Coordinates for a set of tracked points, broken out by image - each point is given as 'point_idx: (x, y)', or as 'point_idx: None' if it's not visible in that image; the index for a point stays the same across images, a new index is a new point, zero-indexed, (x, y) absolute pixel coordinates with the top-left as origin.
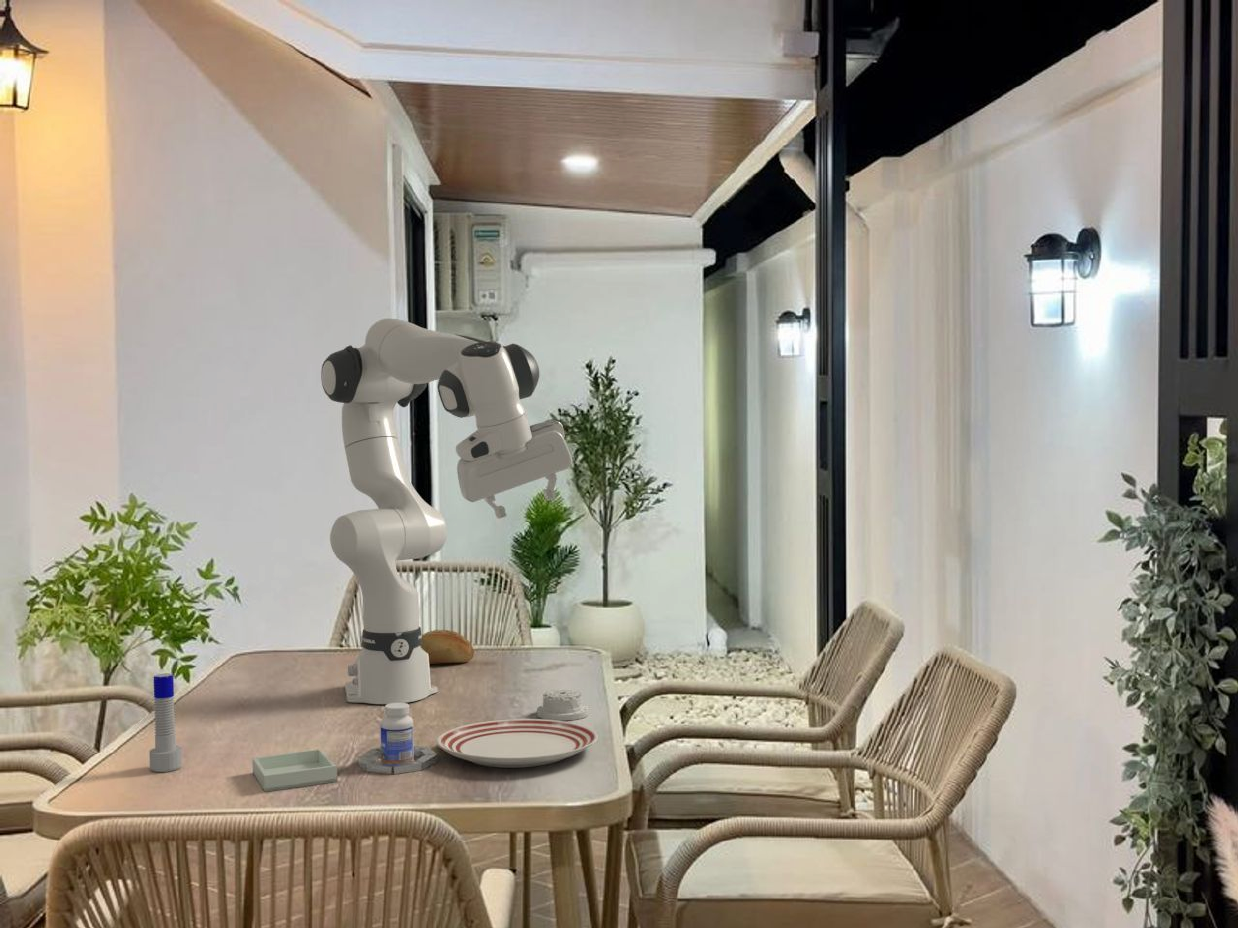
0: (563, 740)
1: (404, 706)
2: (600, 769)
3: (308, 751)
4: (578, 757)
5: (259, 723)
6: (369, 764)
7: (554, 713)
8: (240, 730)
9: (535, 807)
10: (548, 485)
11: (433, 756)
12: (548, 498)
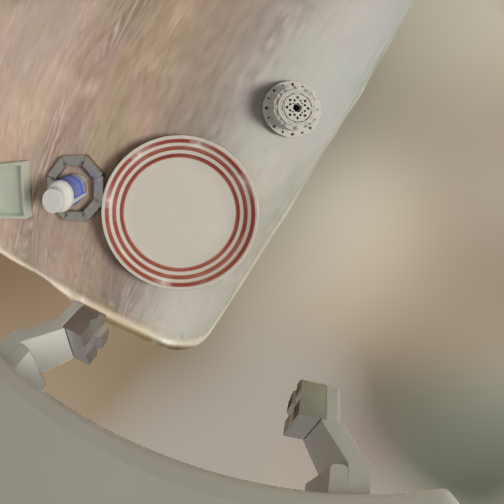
0: (229, 213)
1: (56, 209)
2: (219, 292)
3: (15, 165)
4: None
5: (34, 14)
6: None
7: (273, 121)
8: (16, 33)
9: (141, 335)
10: (324, 440)
11: (98, 208)
12: (289, 410)
